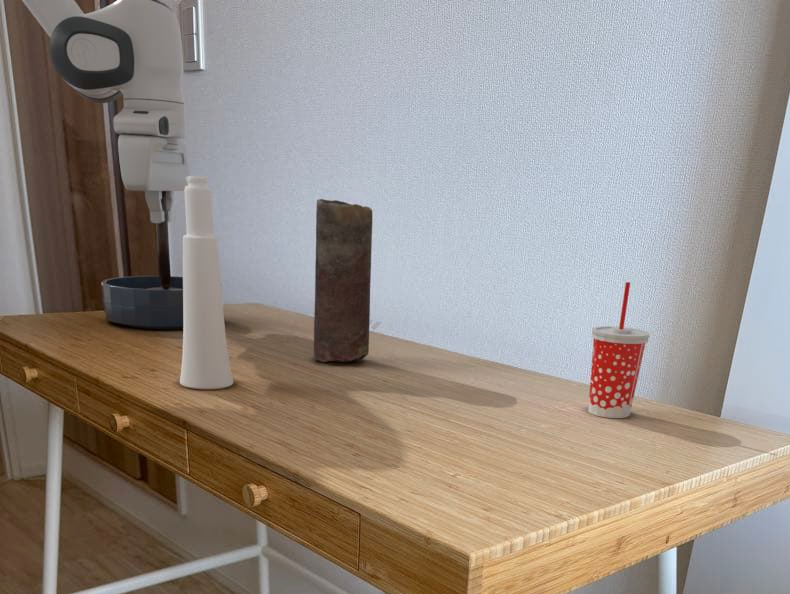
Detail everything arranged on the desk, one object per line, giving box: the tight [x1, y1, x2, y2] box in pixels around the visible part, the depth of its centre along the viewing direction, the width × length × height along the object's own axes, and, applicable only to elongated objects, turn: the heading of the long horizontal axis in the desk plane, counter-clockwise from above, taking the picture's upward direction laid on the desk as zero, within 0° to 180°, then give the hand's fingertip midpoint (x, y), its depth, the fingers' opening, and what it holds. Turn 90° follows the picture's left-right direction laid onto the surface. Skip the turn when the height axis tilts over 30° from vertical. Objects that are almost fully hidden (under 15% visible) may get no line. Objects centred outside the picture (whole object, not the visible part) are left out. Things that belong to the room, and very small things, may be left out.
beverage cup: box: [587, 281, 651, 419], centre depth 90 cm, size 6×6×14 cm
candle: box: [313, 198, 374, 363], centre depth 108 cm, size 8×7×20 cm
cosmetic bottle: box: [179, 175, 234, 391], centre depth 92 cm, size 6×6×22 cm
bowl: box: [100, 275, 223, 330], centre depth 133 cm, size 18×18×6 cm
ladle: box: [148, 191, 183, 290], centre depth 131 cm, size 6×6×19 cm
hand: (161, 222), depth 130 cm, fingers closed on ladle
